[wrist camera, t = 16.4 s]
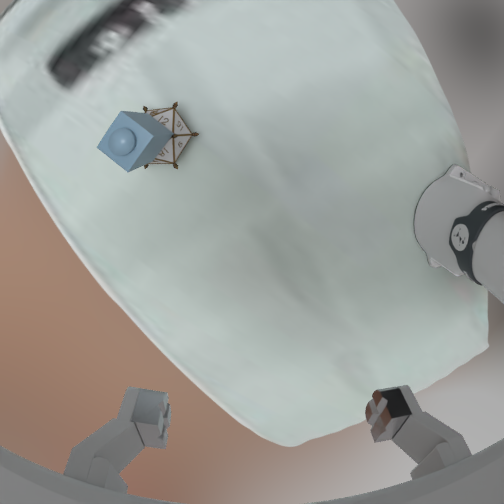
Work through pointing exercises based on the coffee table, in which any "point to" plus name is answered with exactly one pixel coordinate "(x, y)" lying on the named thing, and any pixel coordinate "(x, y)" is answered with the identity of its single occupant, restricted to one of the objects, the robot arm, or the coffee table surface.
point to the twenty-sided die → (178, 139)
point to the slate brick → (134, 139)
